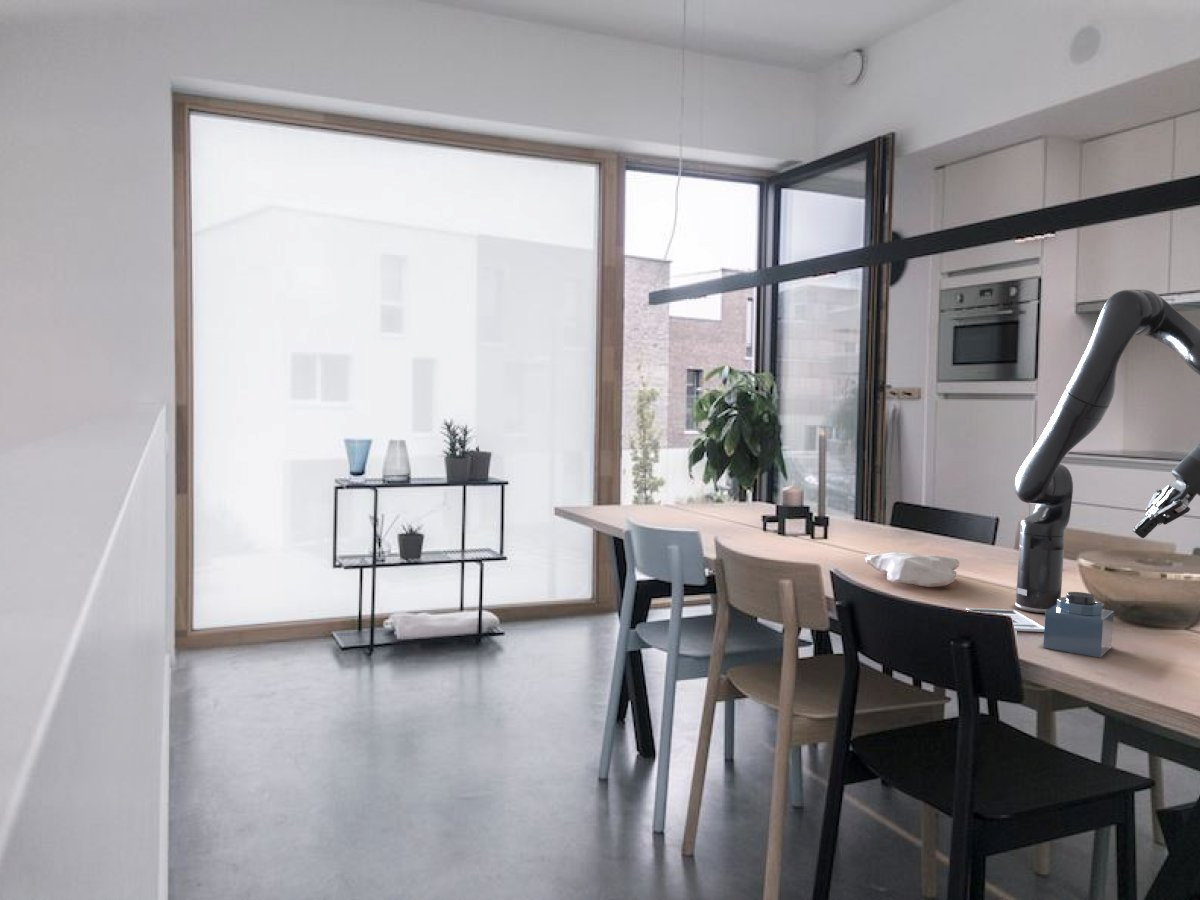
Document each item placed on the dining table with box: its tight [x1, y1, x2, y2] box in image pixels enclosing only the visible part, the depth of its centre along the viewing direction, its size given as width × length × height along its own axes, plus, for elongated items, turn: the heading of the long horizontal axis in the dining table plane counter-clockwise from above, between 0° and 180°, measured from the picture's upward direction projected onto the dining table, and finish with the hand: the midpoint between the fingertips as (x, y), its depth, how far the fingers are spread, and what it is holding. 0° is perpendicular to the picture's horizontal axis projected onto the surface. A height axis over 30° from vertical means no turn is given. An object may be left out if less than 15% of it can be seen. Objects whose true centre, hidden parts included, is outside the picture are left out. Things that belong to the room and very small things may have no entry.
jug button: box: [1065, 591, 1096, 605], centre depth 190 cm, size 5×5×2 cm
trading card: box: [965, 607, 1045, 633], centre depth 211 cm, size 11×1×18 cm
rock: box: [864, 551, 960, 588], centre depth 257 cm, size 8×23×30 cm
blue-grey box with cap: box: [1042, 596, 1115, 658], centre depth 191 cm, size 10×10×9 cm
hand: (1137, 534), depth 189 cm, fingers closed
